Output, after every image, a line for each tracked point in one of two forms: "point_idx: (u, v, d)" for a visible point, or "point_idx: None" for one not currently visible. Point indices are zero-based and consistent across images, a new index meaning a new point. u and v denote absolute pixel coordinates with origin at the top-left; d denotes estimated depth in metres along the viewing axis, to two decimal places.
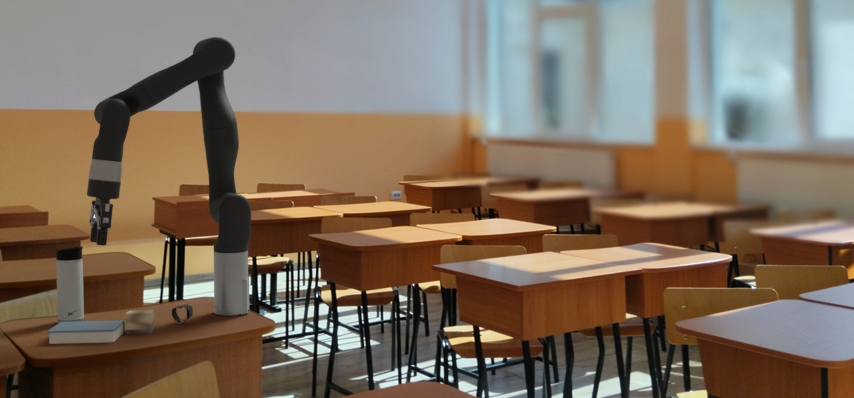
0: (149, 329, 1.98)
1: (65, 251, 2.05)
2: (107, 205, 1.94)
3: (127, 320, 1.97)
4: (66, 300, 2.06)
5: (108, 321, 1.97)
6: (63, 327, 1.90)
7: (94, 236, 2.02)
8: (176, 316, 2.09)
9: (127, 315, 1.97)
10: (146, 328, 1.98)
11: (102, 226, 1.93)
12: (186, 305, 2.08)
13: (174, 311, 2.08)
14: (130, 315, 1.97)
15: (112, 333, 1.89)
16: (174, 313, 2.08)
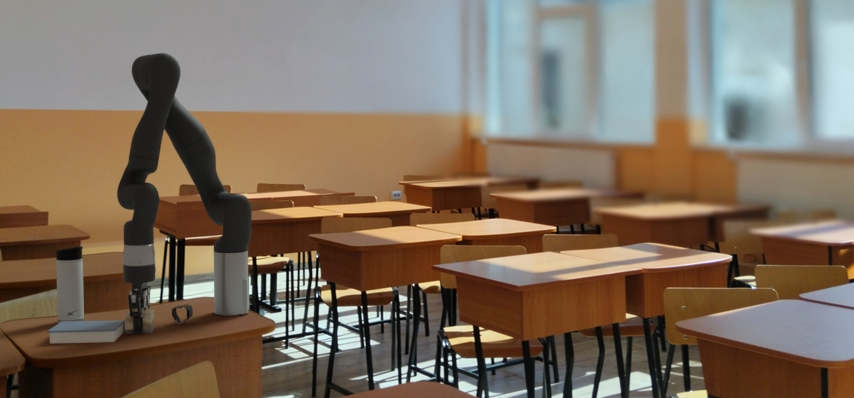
0: (149, 329, 1.98)
1: (65, 251, 2.05)
2: (133, 297, 1.92)
3: (127, 320, 1.97)
4: (66, 300, 2.06)
5: (108, 321, 1.97)
6: (63, 327, 1.91)
7: None
8: (176, 316, 2.09)
9: (127, 315, 1.97)
10: (146, 328, 1.98)
11: (132, 315, 1.94)
12: (186, 305, 2.08)
13: (174, 311, 2.08)
14: None
15: (112, 333, 1.89)
16: (174, 313, 2.08)
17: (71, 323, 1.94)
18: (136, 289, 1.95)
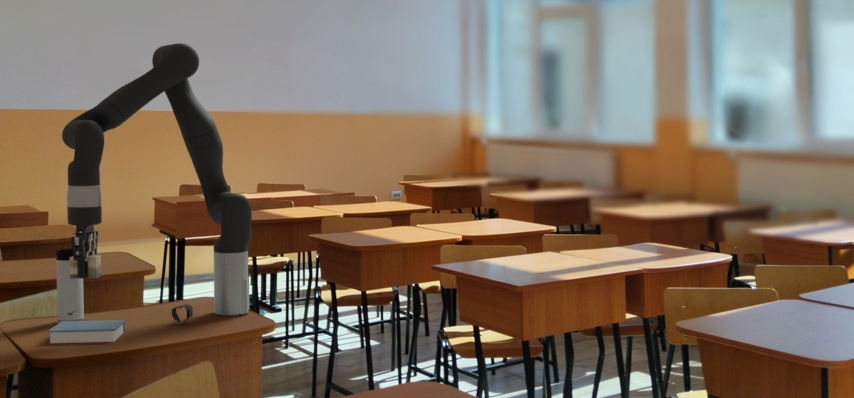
0: (94, 274, 1.90)
1: (65, 251, 2.05)
2: (76, 239, 1.84)
3: (71, 264, 1.89)
4: (66, 300, 2.06)
5: (109, 321, 1.97)
6: (64, 326, 1.91)
7: None
8: (176, 316, 2.09)
9: (71, 259, 1.89)
10: (91, 273, 1.90)
11: (76, 259, 1.86)
12: (186, 305, 2.08)
13: (174, 311, 2.08)
14: None
15: (113, 332, 1.89)
16: (174, 313, 2.08)
17: (71, 323, 1.95)
18: (80, 232, 1.87)
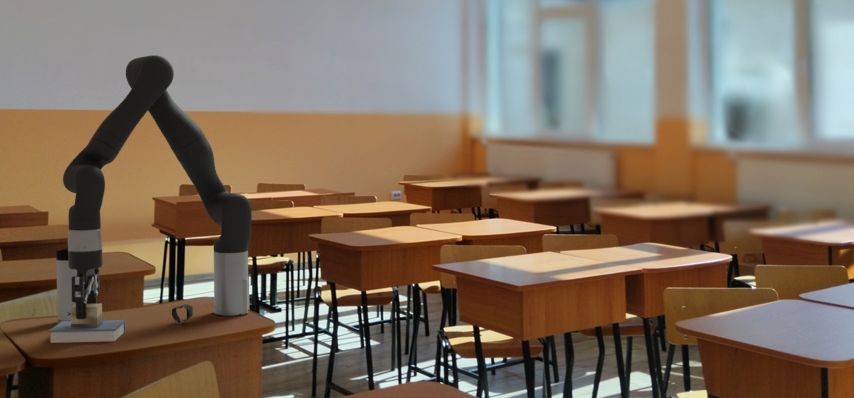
0: (95, 324, 1.90)
1: (65, 251, 2.05)
2: (77, 278, 1.85)
3: (72, 314, 1.90)
4: (66, 300, 2.06)
5: (109, 321, 1.98)
6: (64, 326, 1.91)
7: None
8: (176, 316, 2.09)
9: (72, 309, 1.90)
10: (92, 322, 1.90)
11: (74, 301, 1.85)
12: (186, 305, 2.08)
13: (174, 311, 2.08)
14: (75, 309, 1.90)
15: (113, 332, 1.90)
16: (174, 313, 2.08)
17: None
18: (81, 275, 1.88)
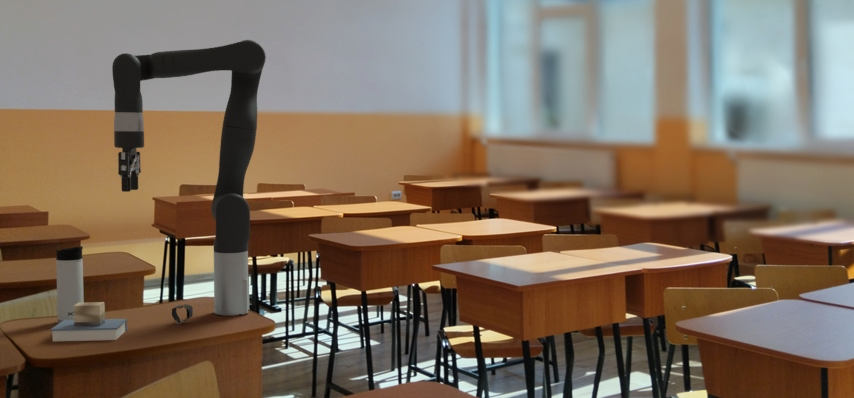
0: (98, 322, 1.92)
1: (65, 251, 2.05)
2: (123, 153, 2.07)
3: (75, 312, 1.91)
4: (66, 300, 2.06)
5: (111, 319, 1.99)
6: (66, 325, 1.92)
7: (132, 184, 2.18)
8: (176, 316, 2.09)
9: (75, 307, 1.91)
10: (95, 320, 1.92)
11: (120, 173, 2.07)
12: (186, 305, 2.08)
13: (174, 311, 2.08)
14: (78, 307, 1.91)
15: (114, 331, 1.91)
16: (174, 313, 2.08)
17: None
18: None
